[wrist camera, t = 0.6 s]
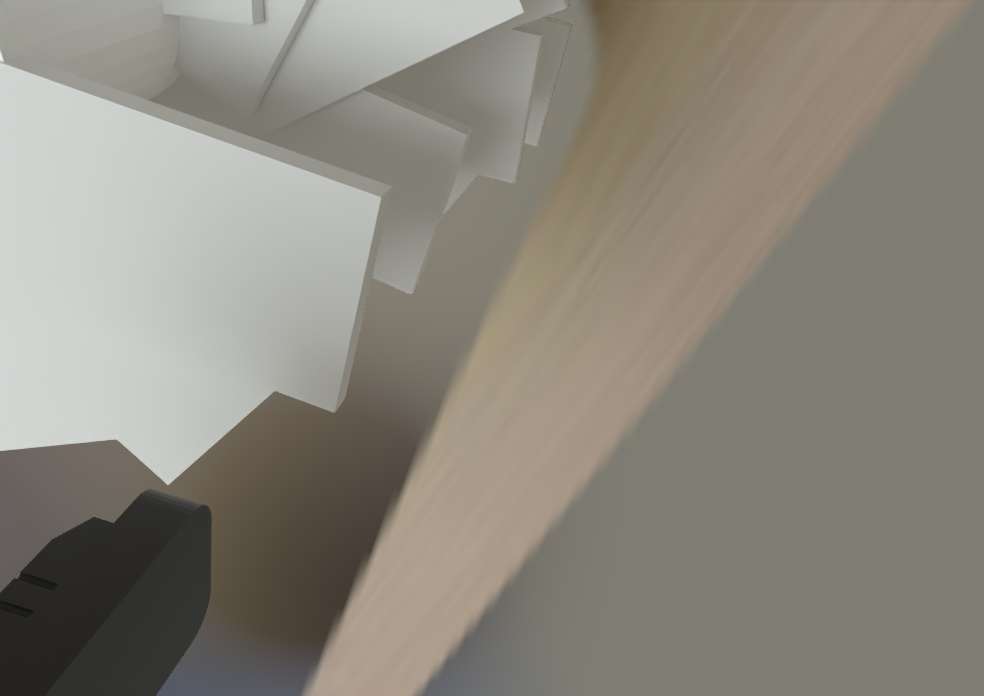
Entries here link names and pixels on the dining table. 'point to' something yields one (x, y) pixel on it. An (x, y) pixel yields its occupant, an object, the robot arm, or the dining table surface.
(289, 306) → the spiral staircase
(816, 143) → the dining table surface
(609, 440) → the dining table surface
